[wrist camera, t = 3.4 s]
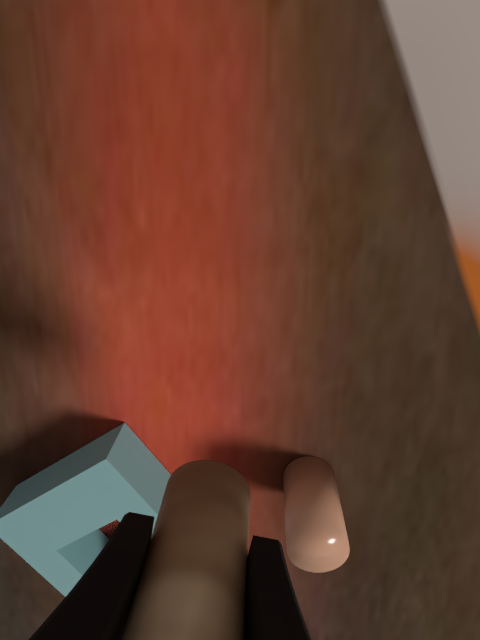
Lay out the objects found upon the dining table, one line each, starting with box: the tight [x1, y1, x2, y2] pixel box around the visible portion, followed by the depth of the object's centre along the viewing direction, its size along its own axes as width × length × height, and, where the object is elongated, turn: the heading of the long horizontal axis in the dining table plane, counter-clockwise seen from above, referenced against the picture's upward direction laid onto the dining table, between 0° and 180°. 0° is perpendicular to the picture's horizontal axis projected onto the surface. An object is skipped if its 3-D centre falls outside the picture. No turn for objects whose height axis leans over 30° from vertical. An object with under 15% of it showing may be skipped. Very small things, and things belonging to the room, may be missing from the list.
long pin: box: [121, 460, 250, 640], centre depth 9 cm, size 2×2×7 cm
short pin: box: [283, 456, 350, 573], centre depth 19 cm, size 2×2×4 cm
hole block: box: [0, 423, 171, 597], centre depth 21 cm, size 9×7×2 cm
